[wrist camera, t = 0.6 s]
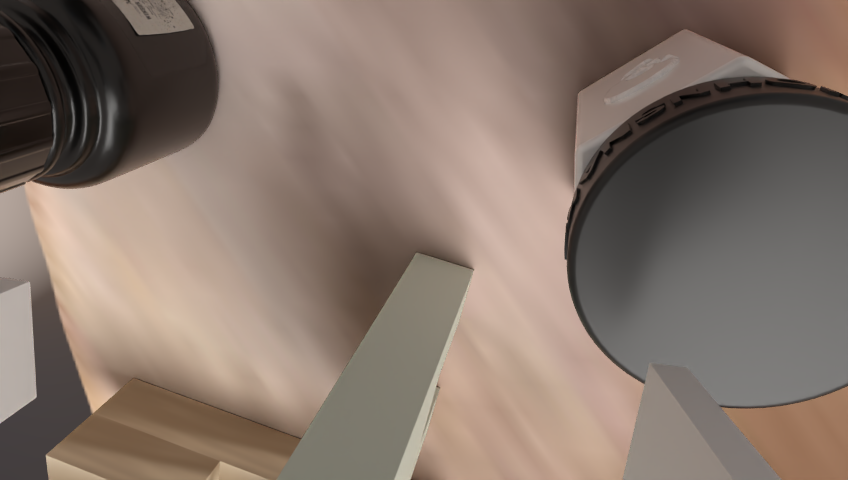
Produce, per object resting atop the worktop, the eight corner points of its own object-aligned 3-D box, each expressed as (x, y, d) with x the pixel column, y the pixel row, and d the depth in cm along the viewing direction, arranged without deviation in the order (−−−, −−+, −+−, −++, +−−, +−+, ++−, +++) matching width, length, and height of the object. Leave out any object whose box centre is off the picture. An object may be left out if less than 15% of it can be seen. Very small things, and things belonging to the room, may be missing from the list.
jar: (741, -13, 21) (900, -8, 11) (830, 171, 23) (1045, 335, 12) (529, 115, 25) (489, 214, 14) (619, 265, 27) (643, 453, 16)
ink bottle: (213, -40, 26) (-48, -56, 15) (245, 153, 29) (52, 252, 19) (36, -29, 28) (-298, -36, 17) (86, 149, 31) (-166, 234, 21)
